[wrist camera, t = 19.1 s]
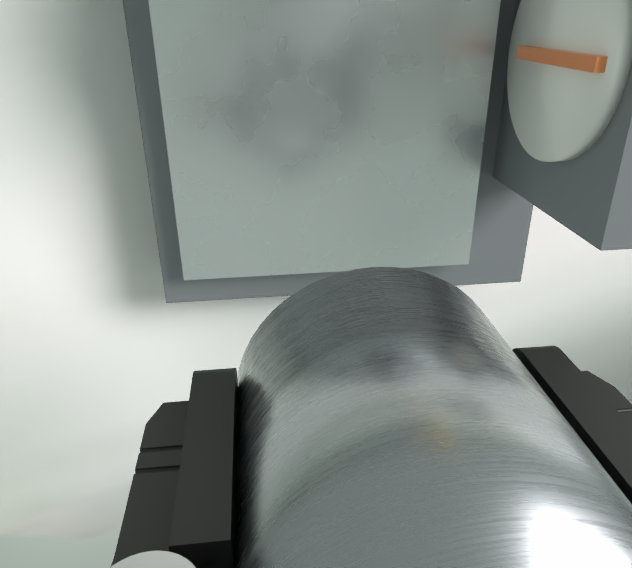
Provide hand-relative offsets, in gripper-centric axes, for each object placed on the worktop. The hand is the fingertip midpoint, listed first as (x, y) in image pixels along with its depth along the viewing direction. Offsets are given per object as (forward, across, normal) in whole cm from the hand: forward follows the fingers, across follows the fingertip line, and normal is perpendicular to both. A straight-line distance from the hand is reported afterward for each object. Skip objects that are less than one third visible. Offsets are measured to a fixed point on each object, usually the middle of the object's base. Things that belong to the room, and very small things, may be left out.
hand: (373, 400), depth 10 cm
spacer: (0, 0, 0) cm, 0 cm away
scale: (+17, -2, -5) cm, 18 cm away
